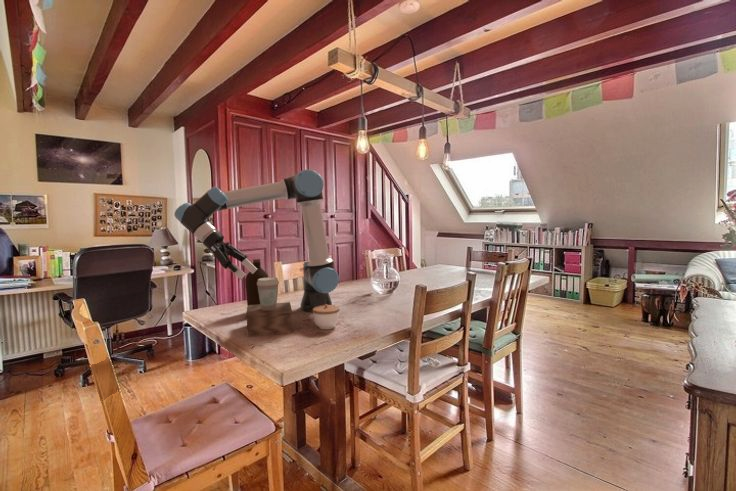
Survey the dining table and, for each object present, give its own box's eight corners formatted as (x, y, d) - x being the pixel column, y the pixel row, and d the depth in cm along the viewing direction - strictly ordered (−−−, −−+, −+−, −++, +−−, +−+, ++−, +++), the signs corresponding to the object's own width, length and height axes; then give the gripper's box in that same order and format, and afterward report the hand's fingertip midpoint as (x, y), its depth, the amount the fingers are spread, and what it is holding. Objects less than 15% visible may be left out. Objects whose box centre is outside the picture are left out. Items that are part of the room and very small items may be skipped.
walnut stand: (290, 320, 153) (289, 302, 152) (292, 332, 137) (292, 312, 136) (248, 324, 148) (247, 305, 148) (246, 337, 132) (245, 316, 131)
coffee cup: (254, 311, 138) (253, 280, 137) (262, 306, 146) (261, 277, 145) (275, 311, 137) (275, 280, 136) (282, 306, 146) (281, 277, 145)
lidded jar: (307, 327, 143) (306, 304, 142) (326, 321, 151) (326, 299, 150) (326, 333, 136) (325, 309, 135) (345, 326, 144) (345, 303, 143)
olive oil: (253, 317, 159) (251, 261, 157) (242, 312, 166) (240, 259, 164) (274, 312, 166) (273, 259, 164) (262, 308, 174) (260, 257, 172)
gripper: (217, 241, 152) (253, 275, 153) (187, 246, 127) (230, 287, 128) (228, 228, 152) (265, 263, 153) (201, 231, 127) (244, 272, 128)
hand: (249, 274), depth 140 cm, fingers open, 13 cm apart
